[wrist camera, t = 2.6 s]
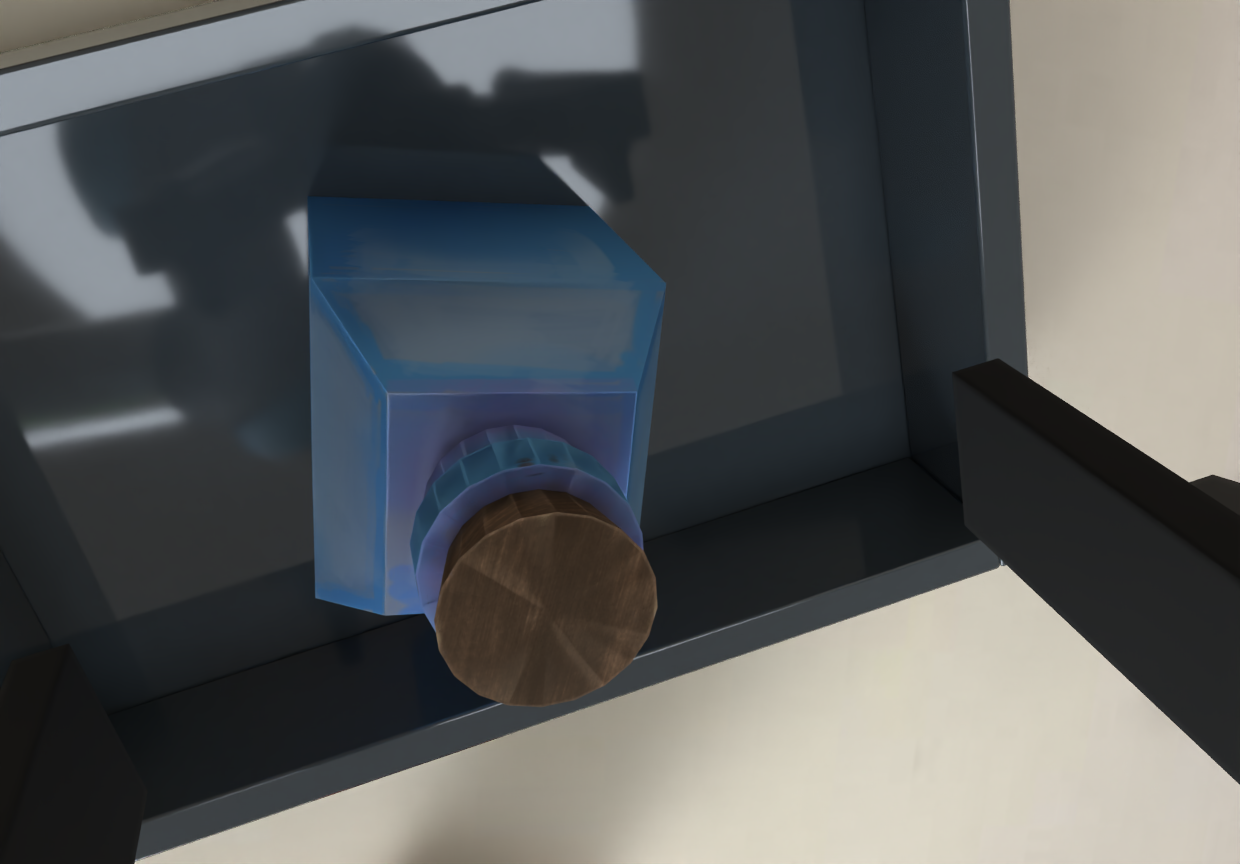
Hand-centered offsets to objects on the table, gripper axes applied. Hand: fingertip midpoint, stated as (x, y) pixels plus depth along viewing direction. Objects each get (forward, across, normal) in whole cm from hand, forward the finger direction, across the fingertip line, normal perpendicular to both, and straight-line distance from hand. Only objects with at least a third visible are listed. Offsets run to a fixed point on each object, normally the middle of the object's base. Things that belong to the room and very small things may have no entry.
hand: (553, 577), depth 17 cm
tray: (+12, 0, 0) cm, 12 cm away
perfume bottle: (+11, 0, 0) cm, 11 cm away
